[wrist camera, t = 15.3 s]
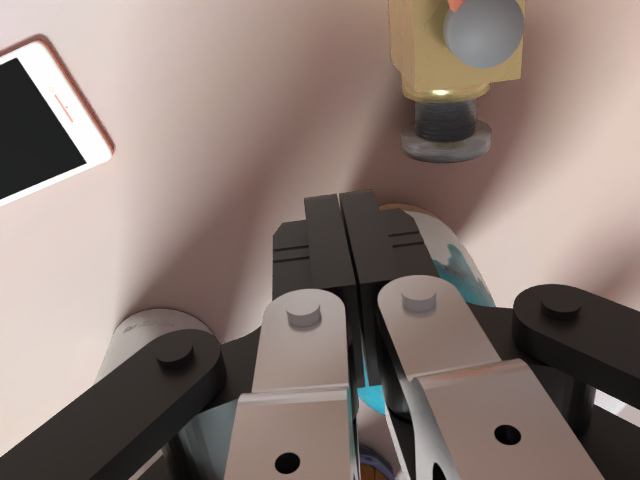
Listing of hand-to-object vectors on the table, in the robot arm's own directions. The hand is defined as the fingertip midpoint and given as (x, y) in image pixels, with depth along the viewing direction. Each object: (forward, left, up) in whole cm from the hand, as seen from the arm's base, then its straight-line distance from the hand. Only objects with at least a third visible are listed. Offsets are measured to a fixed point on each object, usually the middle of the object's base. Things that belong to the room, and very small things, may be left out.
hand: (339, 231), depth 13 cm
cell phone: (-6, +24, -30) cm, 39 cm away
